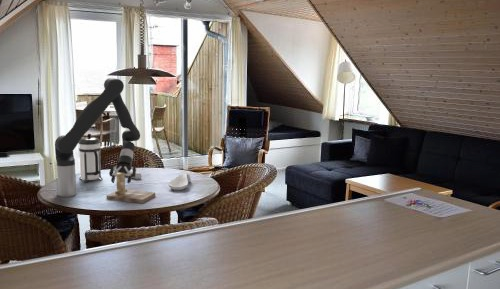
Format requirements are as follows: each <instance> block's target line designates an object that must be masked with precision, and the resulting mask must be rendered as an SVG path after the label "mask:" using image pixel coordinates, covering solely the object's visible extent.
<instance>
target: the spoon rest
mask: <svg viewBox="0 0 500 289" xmlns="http://www.w3.org/2000/svg"><path fill="white" fill-rule="evenodd" d="M191 182H192V178H191V176H190V174H189V173H184V172H182V173H180V174H179V175H178V176H175V177H174V179H172V180H170V181H169V182H168V183H167V184H168V187H169V188H170V189H171V190H173V191H182V190H184V189H186V187H187V186H188V184H189V183H191Z"/></svg>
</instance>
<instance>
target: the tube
mask: <svg viewBox="0 0 500 289" xmlns="http://www.w3.org/2000/svg"><path fill="white" fill-rule="evenodd" d="M115 167H117V165H116V166H115ZM116 170H117V169H115V170H114V172H115V171H116ZM114 172H113V173H114ZM129 172H130V174H132V173H133V170H132V169H131V170H130V171H129ZM128 176H129V175H128V174H125V177H127V178H128ZM142 177H143V176H142V173H141V172H138V171H136V175H135V177H132V178H131V179H134V180H141V178H142Z"/></svg>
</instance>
